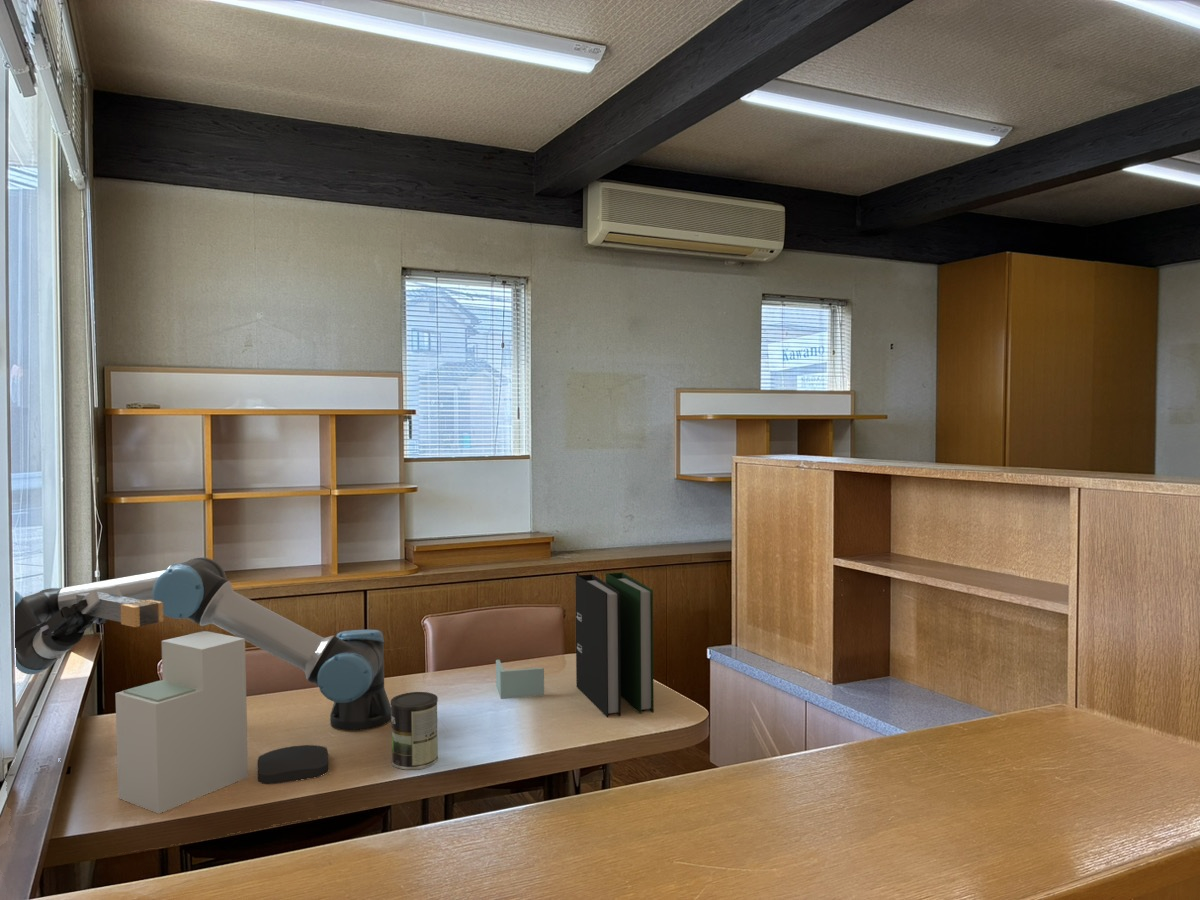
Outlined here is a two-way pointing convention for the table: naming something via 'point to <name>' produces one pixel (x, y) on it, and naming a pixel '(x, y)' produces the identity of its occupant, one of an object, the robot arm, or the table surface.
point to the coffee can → (414, 730)
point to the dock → (184, 724)
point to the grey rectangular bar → (125, 609)
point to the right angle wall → (519, 682)
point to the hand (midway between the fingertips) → (107, 593)
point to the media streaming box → (292, 764)
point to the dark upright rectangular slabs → (614, 642)
